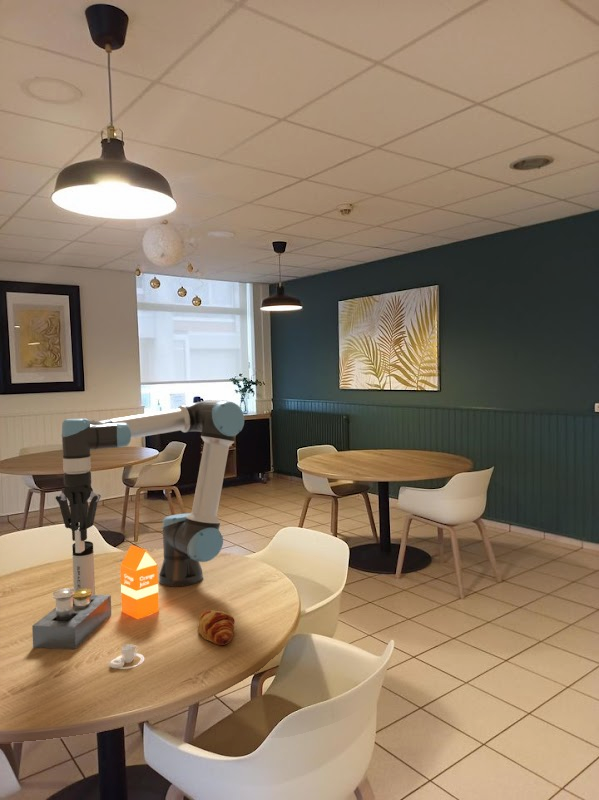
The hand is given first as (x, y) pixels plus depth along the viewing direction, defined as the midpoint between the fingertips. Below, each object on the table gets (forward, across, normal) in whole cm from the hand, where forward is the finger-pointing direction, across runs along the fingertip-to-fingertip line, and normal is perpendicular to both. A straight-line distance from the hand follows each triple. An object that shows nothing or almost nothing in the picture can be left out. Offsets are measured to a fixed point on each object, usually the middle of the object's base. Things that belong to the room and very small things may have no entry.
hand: (80, 551), depth 168 cm
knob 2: (+20, 0, 0) cm, 20 cm away
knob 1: (+16, 0, +10) cm, 19 cm away
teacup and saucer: (+22, -20, +21) cm, 36 cm away
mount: (+21, 0, +5) cm, 22 cm away
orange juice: (+22, -14, -9) cm, 27 cm away
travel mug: (+22, +6, -13) cm, 26 cm away
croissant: (+22, -42, +4) cm, 47 cm away
